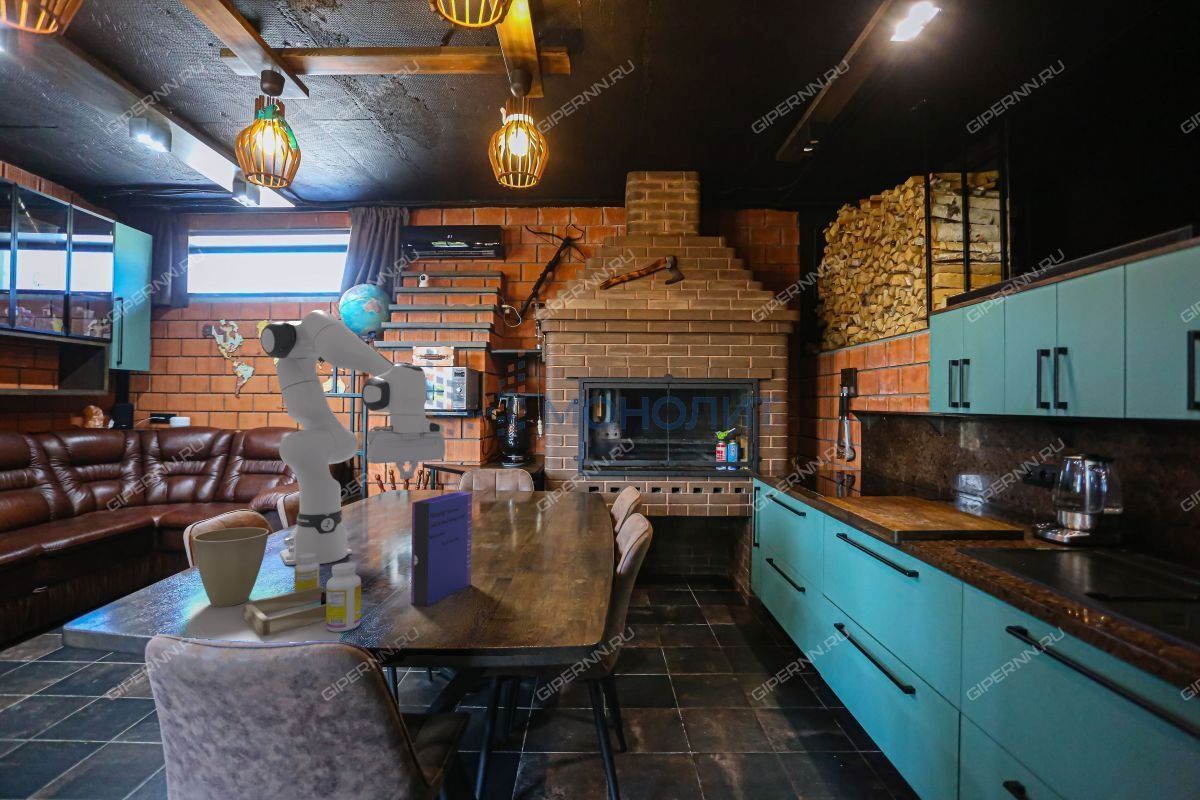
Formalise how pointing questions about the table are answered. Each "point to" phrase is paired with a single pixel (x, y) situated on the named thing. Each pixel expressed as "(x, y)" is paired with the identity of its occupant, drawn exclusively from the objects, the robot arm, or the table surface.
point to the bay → (279, 623)
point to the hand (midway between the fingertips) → (406, 478)
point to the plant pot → (230, 562)
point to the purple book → (440, 547)
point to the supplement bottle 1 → (307, 572)
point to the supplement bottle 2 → (343, 598)
